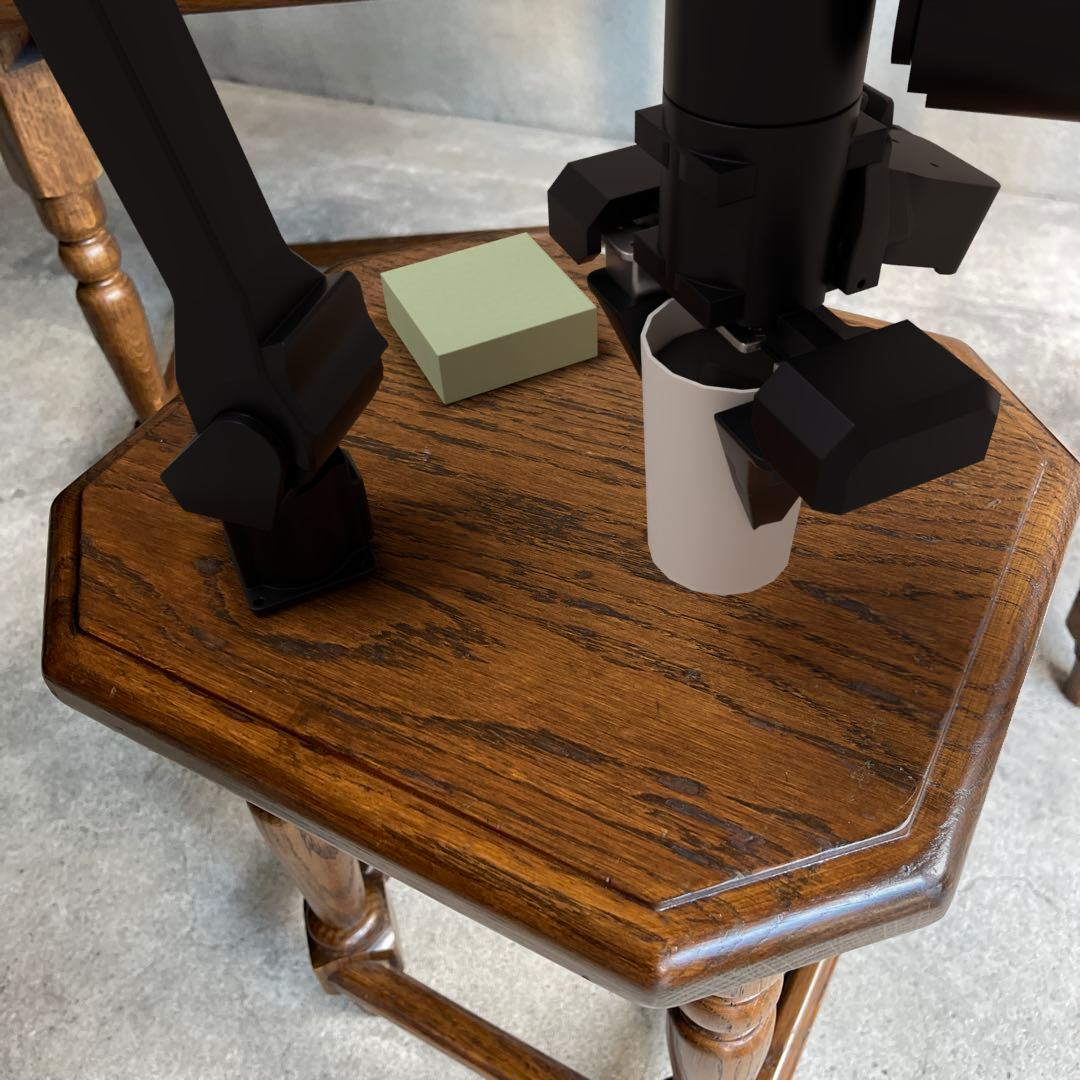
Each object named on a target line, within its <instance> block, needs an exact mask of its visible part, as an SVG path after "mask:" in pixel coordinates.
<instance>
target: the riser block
mask: <svg viewBox="0 0 1080 1080" xmlns="http://www.w3.org/2000/svg"><path fill="white" fill-rule="evenodd" d="M380 280H381V285H382V292H383V298H384V303H385V308H386V315H387V320H388V322H389V323H390V325H391V326H392V328H393V330H394V332H396V334H397V335H398V337H399V339H400V340H401V341H402V343H403V344H404V346H405V347H406V349H407V351H408V352H409V353H410V355H411V357H412V359H414V361H415V362H416V363H417V365H418V367H419V369H420V370H421V371H422V373H423V374H424V376H425V377H426V379H427V380H428V382H429V383H430V385H431V387H432V388H433V389H434V390H435V391H434V392H436V393H437V395H438V397H439V398H440V400H441V401H442V402H443V403H442V404H444V405H448V404H452V403H455V402H458V401H461V400H464V399H467V398H471V397H474V396H478V395H480V394H484V393H486V392H489V391H492V390H496V389H499V388H502V387H505V386H508V385H511V384H514V383H517V382H521V381H524V380H527V379H530V378H534V377H536V376H540V375H542V374H546V373H549V372H553V371H555V370H558V369H561V368H565V367H567V366H570V365H573V364H578V363H580V362H584V361H586V360H589V359H593V358H596V357H598V308H597V306H596V305H595V304H594V302H593V301H591V300H590V298H588V296H587V295H586V294H585V293H584V292H583V291H582V290H581V289H580V288H579V286H577V284H576V283H575V282H574V281H573V280H572V279H571V278H570V277H569V276H568V275H567V274H566V272H565V271H563V269H562V268H561V267H560V265H558V264H557V263H556V262H555V261H554V260H553V259H552V258H551V256H549V254H547V252H546V251H545V250H544V249H543V248H542V247H541V245H539V244H538V242H536V241H535V239H533V238H532V236H531V235H530V234H529V233H528V232H522V233H518V234H515V235H511V236H507V237H503V238H501V239H497V240H493V241H490V242H486V243H483V244H478V245H476V246H471V247H469V248H465V249H462V250H458V251H454V252H451V253H447V254H443V255H440V256H437V257H433V258H429V259H425V260H422V261H418V262H414V263H411V264H407V265H404V266H400V267H397V268H393V269H390V270H386V271H382V272H380Z"/></svg>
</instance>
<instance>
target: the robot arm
mask: <svg viewBox="0 0 1080 1080" xmlns="http://www.w3.org/2000/svg"><path fill="white" fill-rule="evenodd" d="M12 3H13V4H14V6H15V7H16V10H17V11H18V13H19V15H20V17H21V19H22V21H23V23H24V24H25V26H26V28H27V30H28V32H29V34H30V36H31V37H32V40H33V41H34V43H35V46H36V47H37V49H38V51H39V52H40V54H41V56H42V58H43V60H44V61H45V63H46V65H47V68H48V69H49V71H50V73H51V74H52V76H53V78H54V80H55V82H56V84H57V85H58V87H59V89H60V91H61V93H62V95H63V97H64V98H65V101H66V102H67V104H68V106H69V108H70V110H71V111H72V113H73V115H74V117H75V119H76V120H77V122H78V124H79V127H80V128H81V130H82V132H83V133H84V135H85V138H86V139H87V141H88V143H89V144H90V147H91V148H92V150H93V152H94V154H95V156H96V158H97V160H98V161H99V163H100V165H101V167H102V169H103V171H104V173H105V174H106V176H107V178H108V180H109V182H110V183H111V186H112V187H113V189H114V191H115V193H116V194H117V197H118V198H119V200H120V202H121V204H122V206H123V208H124V209H125V211H126V214H127V215H128V217H129V218H130V221H131V222H132V224H133V226H134V228H135V229H136V231H137V233H138V236H139V237H140V239H141V241H142V242H143V245H144V246H145V248H146V250H147V252H148V254H149V256H150V257H151V260H152V261H153V263H154V265H155V267H156V269H157V270H158V272H159V274H160V276H161V278H162V279H163V282H164V283H165V286H166V287H167V289H168V291H169V294H170V296H171V299H172V305H173V357H174V358H173V361H174V365H173V366H174V367H173V368H174V379H175V382H176V384H177V387H178V389H179V392H180V394H181V395H180V396H181V397H182V399H183V403H184V405H185V407H186V410H187V412H188V414H189V417H190V419H191V422H192V425H193V426H194V429H195V431H196V433H195V434H194V436H192V438H191V439H190V440H189V441H188V442H187V443H186V445H184V447H183V448H182V449H181V450H180V451H179V452H178V453H177V455H176V456H174V458H173V459H172V460H171V462H169V463H168V464H167V466H165V468H164V469H163V470H162V471H161V473H160V474H159V479H160V481H161V482H162V483H163V485H164V486H165V488H166V489H167V491H168V492H169V493H170V494H171V496H172V497H173V498H174V500H175V501H176V503H177V504H178V505H179V507H180V508H181V509H182V510H183V511H185V512H186V513H190V514H194V515H199V516H202V517H206V518H212V519H216V520H220V523H221V526H222V528H223V530H222V531H221V535H222V538H223V540H224V543H225V546H226V549H227V551H228V553H229V557H230V559H231V562H232V564H233V567H234V570H235V572H236V575H237V578H238V580H239V583H240V586H241V589H242V591H243V595H244V597H245V599H246V603H247V605H248V607H249V610H250V612H251V613H252V615H254V616H264V615H266V614H270V613H272V612H275V611H277V610H280V609H283V608H285V607H288V606H291V605H294V604H297V603H300V602H303V601H306V600H309V599H311V598H314V597H317V596H319V595H323V594H325V593H327V592H330V591H334V590H337V589H340V588H342V587H345V586H347V585H351V584H353V583H356V582H360V581H363V580H364V579H367V578H369V577H372V576H374V575H376V574H377V573H378V572H379V570H380V569H379V563H378V560H377V558H376V555H375V553H374V552H373V550H372V548H371V545H370V544H369V542H368V541H371V540H373V539H374V537H375V535H376V532H375V527H374V522H373V518H372V514H371V509H370V503H369V501H368V495H367V490H366V486H365V482H364V477H363V476H362V474H361V472H360V470H359V468H358V467H357V465H356V463H355V461H354V459H353V457H352V455H351V453H350V451H349V450H347V449H346V448H344V447H342V448H341V446H340V444H341V442H342V441H343V439H344V438H345V437H346V436H347V434H348V433H349V431H350V430H351V429H352V427H353V426H354V425H355V423H356V422H357V420H358V419H359V418H360V416H361V415H362V414H363V412H364V411H365V410H366V409H367V407H368V406H369V404H370V403H371V402H372V400H373V399H374V397H375V396H376V394H377V392H378V390H379V388H380V385H381V383H382V381H383V380H384V369H385V368H384V363H383V361H382V360H383V359H382V355H383V354H384V353H385V351H386V350H387V349H388V347H389V346H390V344H389V341H388V340H387V339H386V338H385V336H383V334H382V333H381V332H380V331H379V329H378V328H377V326H376V325H375V323H374V321H373V319H372V317H371V316H370V314H369V310H368V307H367V305H366V301H365V297H364V293H363V289H362V288H363V287H362V285H361V282H360V280H359V279H358V277H357V276H356V275H355V273H354V272H353V271H351V270H348V269H344V270H342V271H338V272H334V273H331V274H325V273H324V272H323V271H321V270H320V269H319V268H317V267H316V266H315V265H313V264H311V262H309V261H308V260H306V259H305V258H303V257H302V256H301V255H300V254H298V253H297V252H295V251H293V250H292V249H291V248H290V247H289V246H288V243H286V241H285V239H284V237H283V235H282V233H281V230H280V229H279V227H278V224H277V222H276V220H275V217H274V216H273V213H272V211H271V208H270V207H269V205H268V201H267V200H266V198H265V196H264V194H263V191H262V189H261V186H260V185H259V182H258V180H257V177H256V176H255V173H254V171H253V168H252V167H251V165H250V162H249V160H248V158H247V155H246V154H245V151H244V149H243V146H242V145H241V142H240V139H239V138H238V136H237V133H236V131H235V130H234V127H233V125H232V123H231V120H230V118H229V116H228V114H227V111H226V109H225V107H224V105H223V102H222V100H221V98H220V96H219V93H218V92H217V89H216V87H215V85H214V82H213V80H212V79H211V76H210V74H209V72H208V69H207V67H206V65H205V63H204V60H203V58H202V57H201V54H200V51H199V50H198V47H197V45H196V43H195V41H194V39H193V35H192V34H191V32H190V29H189V28H188V25H187V23H186V21H185V19H184V17H183V14H182V12H181V10H180V8H179V6H178V3H177V1H176V0H12ZM876 5H877V0H664V31H663V33H664V34H663V38H664V39H663V63H662V64H663V66H662V68H663V69H662V93H661V94H662V95H661V98H662V99H661V101H662V102H661V103H659V104H655V105H652V106H648V107H644V108H639V109H635V110H634V143H635V144H633V145H629V146H625V147H621V148H618V149H614V150H610V151H606V152H602V153H597V154H595V155H591V156H587V157H583V158H580V159H575V160H572V161H568V162H567V163H566V164H565V166H564V167H563V168H562V170H561V171H560V173H558V175H557V177H556V178H555V179H554V181H553V182H552V184H551V185H550V186H549V188H548V189H547V190H546V197H547V198H546V199H547V215H548V216H547V218H548V235H549V236H550V238H551V239H553V241H554V242H556V244H557V245H558V246H559V247H560V248H561V249H562V250H563V251H564V252H565V253H566V254H567V255H568V256H569V258H571V259H572V261H573V262H574V263H575V264H576V265H578V266H580V265H583V264H587V263H591V262H593V261H594V260H595V259H596V258H597V257H598V256H599V255H600V254H601V253H602V243H603V244H604V253H605V254H604V266H602V267H600V268H597V269H594V270H592V271H590V272H589V273H588V274H587V276H586V285H587V287H588V290H589V291H590V293H591V294H592V295H593V296H594V297H595V299H596V300H597V302H598V304H599V306H600V308H601V309H602V311H603V313H604V315H605V317H606V318H607V320H608V322H609V324H610V325H611V327H612V329H613V331H614V333H615V335H616V337H617V339H618V340H619V342H620V344H621V347H623V349H624V351H625V353H626V355H627V356H628V359H629V360H630V362H631V365H632V366H633V368H634V370H635V372H636V373H637V376H638V377H639V379H640V381H641V382H642V360H641V333H642V330H643V328H644V325H645V323H646V320H647V317H648V315H649V314H651V313H652V312H653V311H654V310H656V309H657V308H658V307H659V306H661V305H662V304H663V303H664V302H666V301H667V300H668V299H671V298H674V299H675V300H676V301H677V302H678V303H679V304H680V305H681V306H682V307H683V308H684V309H685V310H686V311H687V312H688V313H689V314H690V315H691V316H692V317H693V318H694V319H695V320H696V321H697V322H699V323H700V324H701V325H702V326H703V327H704V328H705V329H706V330H707V331H708V330H712V329H716V330H717V331H718V332H719V333H720V334H722V335H723V336H724V337H725V338H726V339H727V340H728V341H729V342H730V343H731V344H732V345H733V346H734V347H735V348H736V349H737V350H738V351H740V352H743V353H749V352H753V351H756V350H759V349H763V350H764V351H765V352H766V353H767V354H768V355H769V356H770V357H772V358H773V359H774V360H775V361H776V362H777V363H775V364H774V368H773V374H772V375H771V376H770V377H769V378H768V379H767V381H766V382H765V383H764V384H763V385H762V386H761V388H760V389H759V390H758V391H757V392H756V393H755V395H754V400H753V401H750V402H747V403H744V404H741V405H738V406H735V407H732V408H729V409H727V410H724V411H721V412H718V413H715V414H714V421H715V424H716V427H717V431H718V434H719V437H720V441H721V444H722V447H723V450H724V453H725V456H726V460H727V463H728V466H729V470H730V473H731V476H732V480H733V483H734V486H735V488H736V491H737V493H738V495H739V498H740V500H741V503H742V505H743V507H744V510H745V512H746V514H747V517H748V519H749V522H750V524H751V526H752V529H753V530H756V529H757V528H758V527H760V526H761V525H766V524H770V523H775V522H779V521H782V520H783V519H784V517H785V516H786V514H787V513H788V512H789V510H790V509H791V507H792V506H793V505H794V503H795V502H796V500H797V499H798V498H799V496H800V497H801V498H802V500H803V502H805V504H807V505H808V506H809V508H810V509H811V510H813V511H816V512H821V513H826V514H832V515H836V516H843V515H846V514H849V513H852V512H853V511H856V510H859V509H861V508H864V507H866V506H869V505H872V504H874V503H877V502H879V501H882V500H885V499H887V498H889V497H892V496H895V495H898V494H900V493H904V492H907V491H908V490H911V489H913V488H916V487H918V486H921V485H923V484H927V483H929V482H932V481H934V480H937V479H939V478H942V477H944V476H946V475H950V474H952V473H954V472H957V471H960V470H963V469H965V468H967V467H970V466H973V465H975V464H978V463H980V462H983V461H985V459H986V456H987V453H988V449H989V447H990V443H991V440H992V437H993V434H994V430H995V428H996V424H997V421H998V418H999V412H1000V406H1001V399H1002V393H1000V392H999V391H998V390H997V389H996V388H995V387H994V386H993V385H992V384H991V383H990V382H989V381H988V380H986V378H984V377H983V376H981V374H980V373H978V372H976V370H974V369H973V368H972V367H970V366H969V365H967V364H966V363H965V362H964V361H962V360H961V359H960V358H959V357H957V356H956V355H955V354H954V353H952V352H951V351H950V350H948V349H947V348H946V347H944V346H943V345H942V344H941V343H940V342H938V341H936V340H935V339H934V338H933V337H931V336H930V335H929V334H928V333H926V332H925V331H924V330H922V328H920V327H918V325H916V324H915V323H914V322H912V321H911V320H909V319H908V318H906V319H903V320H900V321H896V322H894V323H892V324H888V325H885V326H882V327H879V328H874V327H871V326H867V325H859V326H857V325H855V326H854V325H850V324H847V322H845V321H844V320H842V319H841V318H840V317H839V316H837V315H836V314H835V313H834V312H833V311H831V310H830V309H829V308H828V307H827V306H825V304H824V303H825V299H826V294H827V293H830V292H833V291H837V290H839V291H840V292H841V293H843V294H844V295H845V296H852V295H854V294H857V293H861V292H864V291H866V290H869V289H873V288H875V287H878V286H879V281H880V277H881V271H882V266H883V265H889V266H897V267H898V266H899V267H912V268H913V267H915V268H924V269H933V271H934V272H935V273H936V274H937V275H940V276H941V275H943V276H952V275H955V274H956V273H957V272H958V270H959V269H960V266H961V264H962V262H963V260H964V259H965V256H966V255H967V253H968V251H969V249H970V247H971V245H972V243H973V241H974V239H975V237H976V236H977V234H978V232H979V230H980V228H981V226H982V224H983V222H984V221H985V218H986V217H987V215H988V212H989V211H990V209H991V207H992V205H993V203H994V201H995V199H996V197H997V195H998V194H999V192H1000V190H1001V187H1002V185H1001V183H1000V182H999V181H998V180H997V179H995V178H994V177H992V176H991V175H989V174H987V173H985V172H984V171H982V170H981V169H979V168H977V167H975V166H974V165H972V164H971V163H969V162H967V161H965V160H963V159H962V158H960V157H959V156H957V155H955V154H953V153H951V152H950V151H948V150H947V149H945V148H943V147H941V146H940V145H939V144H937V143H935V142H933V141H931V140H929V139H928V138H924V137H922V136H919V135H917V134H915V133H912V132H910V131H909V130H907V129H906V128H904V127H903V126H901V125H899V124H894V113H895V102H894V100H893V98H892V97H890V96H889V95H888V94H885V93H884V92H882V91H880V90H878V89H877V88H875V87H873V86H872V85H870V84H868V83H866V82H865V74H866V69H867V63H868V56H869V50H870V43H871V37H872V31H873V25H874V18H875V12H876ZM896 13H897V14H896V19H895V24H894V31H893V35H892V44H891V53H890V65H900V66H901V65H903V66H910V68H909V75H908V80H907V81H908V82H907V88H906V93H910V94H918V95H919V94H921V95H926V97H925V102H924V109H934V110H944V111H955V112H964V113H976V114H984V115H985V114H987V115H996V116H1008V117H1017V118H1018V117H1019V118H1026V119H1027V118H1029V119H1039V120H1050V121H1059V122H1070V123H1080V0H898V6H897V11H896Z"/></svg>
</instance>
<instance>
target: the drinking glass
mask: <svg viewBox="0 0 1080 1080" xmlns="http://www.w3.org/2000/svg"><path fill="white" fill-rule="evenodd" d="M641 360H642V381H641V385H642V387H641V388H642V412H643V413H642V414H643V415H642V416H643V440H644V441H643V442H644V468H645V469H644V470H645V472H644V473H645V495H646V496H645V497H646V498H645V499H646V523H647V525H646V526H647V527H646V528H647V545H648V549H649V552H650V555H651V560H652V562H653V564H654V565H655V566H656V567H657V568H658V569H659V570H660V571H661V572H662V573H663V575H665V577H666V578H667V579H668V580H670V581H672V582H674V583H676V584H678V585H680V586H682V587H684V588H687V589H688V590H690V591H692V592H697V593H703V594H710V595H716V596H730V595H738V594H739V595H740V594H747V593H752V592H754V591H756V590H758V589H761V588H762V587H764V586H767V585H769V584H770V583H773V582H774V581H775V580H776V579H777V578H778V577H779V576H780V574H781V573H782V572H783V571H784V570H785V569H786V568H787V566H788V565H789V560H790V555H791V551H792V547H793V542H794V536H795V532H796V529H797V528H796V527H797V523H798V519H799V514H800V509H801V504H802V500H803V499H802V498H801V497H800V496H799V498H798V499H797V500H796V502H795V503H794V505H793V506H792V507H791V509H790V510H789V512H788V513H787V514H786V516H785V517H784V519H783V520H782V521H779V522H775V523H770V524H766V525H761V526H760V527H758V528H757V529H756V530H753V529H752V526H751V524H750V522H749V519H748V517H747V514H746V512H745V510H744V507H743V505H742V503H741V500H740V498H739V495H738V493H737V491H736V488H735V486H734V483H733V480H732V476H731V473H730V470H729V466H728V463H727V460H726V456H725V453H724V450H723V447H722V444H721V441H720V437H719V434H718V431H717V427H716V424H715V421H714V414H715V413H718V412H721V411H724V410H727V409H729V408H732V407H735V406H738V405H741V404H744V403H747V402H750V401H753V400H754V395H755V393H756V392H757V391H758V390H759V389H760V388H761V386H762V385H763V384H764V383H765V382H766V381H767V379H768V378H769V377H770V376H771V375H772V374H773V368H774V364H775V363H777V362H776V361H775V360H774V359H773V358H772V357H770V356H769V355H768V354H767V353H766V352H765V351H764V350H763V349H759V350H756V351H753V352H749V353H743V352H740V351H738V350H737V349H736V348H735V347H734V346H733V345H732V344H731V343H730V342H729V341H728V340H727V339H726V338H725V337H724V336H723V335H722V334H720V333H719V332H718V331H717V330H716V329H712V330H708V331H707V330H706V329H705V328H704V327H703V326H702V325H701V324H700V323H699V322H697V321H696V320H695V319H694V318H693V317H692V316H691V315H690V314H689V313H688V312H687V311H686V310H685V309H684V308H683V307H682V306H681V305H680V304H679V303H678V302H677V301H676V300H675V299H674V298H671V299H668V300H667V301H666V302H664V303H663V304H662V305H661V306H659V307H658V308H657V309H656V310H654V311H653V312H652V313H651V314H649V315H648V317H647V320H646V323H645V325H644V328H643V330H642V333H641Z"/></svg>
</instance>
